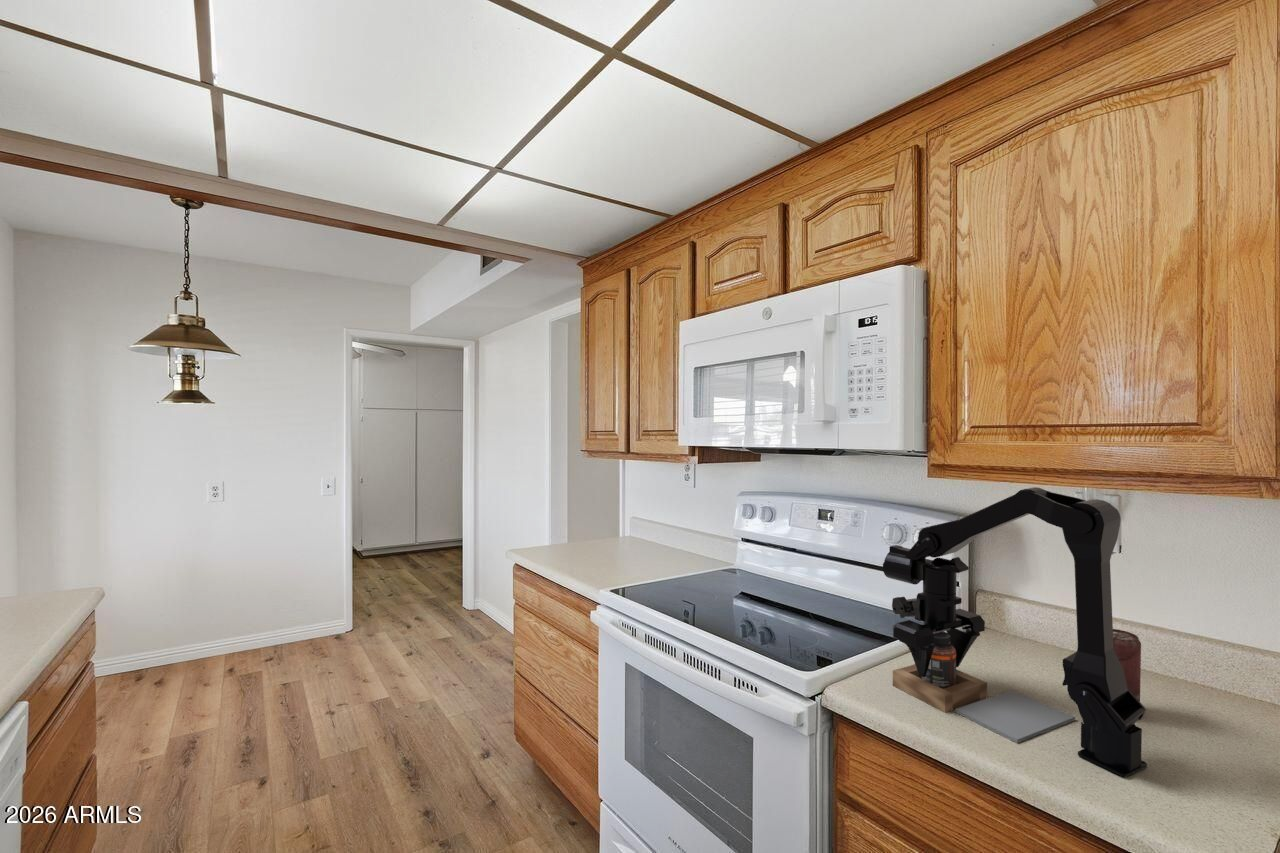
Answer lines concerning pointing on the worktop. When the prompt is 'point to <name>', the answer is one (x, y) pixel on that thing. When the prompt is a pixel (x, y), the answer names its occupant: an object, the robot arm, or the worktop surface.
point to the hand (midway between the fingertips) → (938, 671)
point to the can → (1129, 658)
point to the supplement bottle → (942, 662)
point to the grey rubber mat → (1015, 715)
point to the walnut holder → (940, 689)
